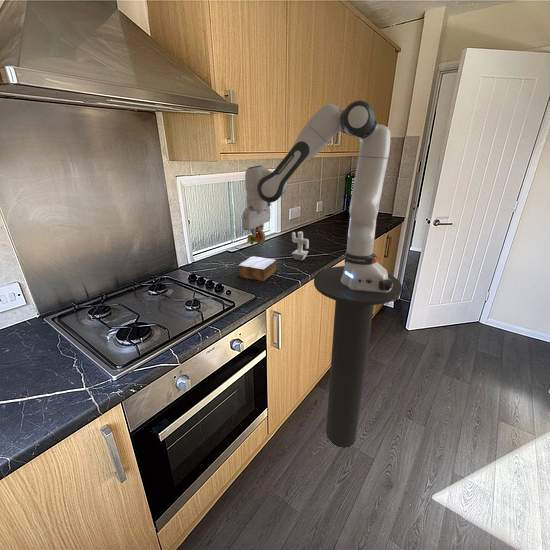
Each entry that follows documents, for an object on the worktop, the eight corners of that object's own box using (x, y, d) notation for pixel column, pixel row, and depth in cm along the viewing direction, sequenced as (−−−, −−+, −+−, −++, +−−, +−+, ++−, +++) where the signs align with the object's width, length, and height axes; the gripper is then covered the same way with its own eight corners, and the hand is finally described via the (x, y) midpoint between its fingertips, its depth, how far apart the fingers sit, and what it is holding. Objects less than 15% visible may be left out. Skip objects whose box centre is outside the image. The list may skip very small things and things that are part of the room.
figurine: (305, 262, 156) (306, 234, 150) (289, 259, 160) (289, 232, 154) (310, 257, 162) (311, 231, 156) (294, 255, 166) (295, 229, 160)
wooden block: (276, 271, 145) (276, 259, 143) (264, 281, 134) (263, 269, 131) (252, 267, 150) (252, 256, 148) (238, 276, 139) (237, 265, 137)
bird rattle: (265, 248, 138) (251, 237, 141) (273, 227, 132) (259, 217, 135) (256, 250, 133) (243, 240, 136) (265, 229, 127) (250, 219, 131)
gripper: (250, 209, 119) (252, 242, 125) (272, 201, 136) (273, 230, 142) (237, 208, 122) (239, 240, 127) (260, 200, 139) (261, 229, 144)
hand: (257, 235), depth 135 cm, fingers closed on bird rattle, 4 cm apart
